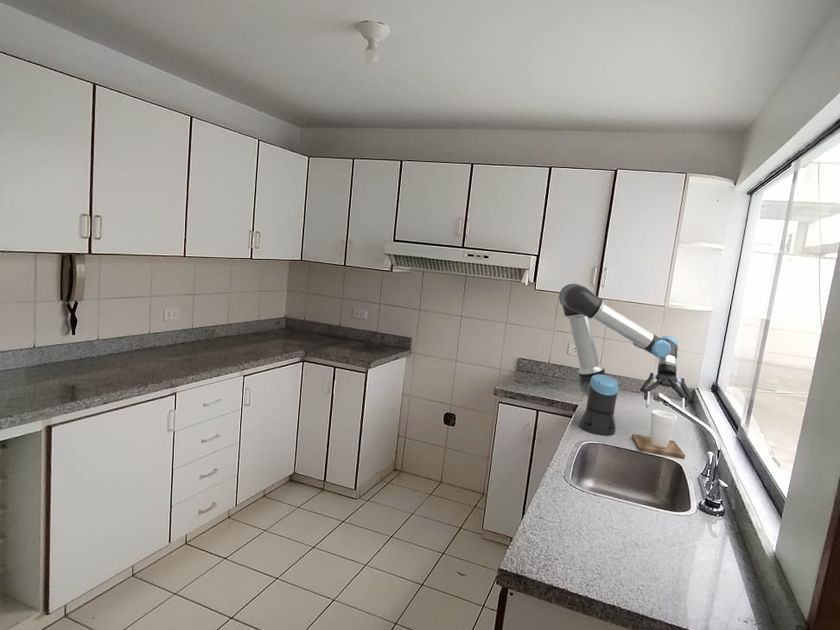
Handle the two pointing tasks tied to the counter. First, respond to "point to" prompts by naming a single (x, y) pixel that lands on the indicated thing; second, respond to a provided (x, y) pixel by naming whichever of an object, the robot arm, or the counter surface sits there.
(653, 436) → the foam cup
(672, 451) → the walnut board
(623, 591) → the counter surface
